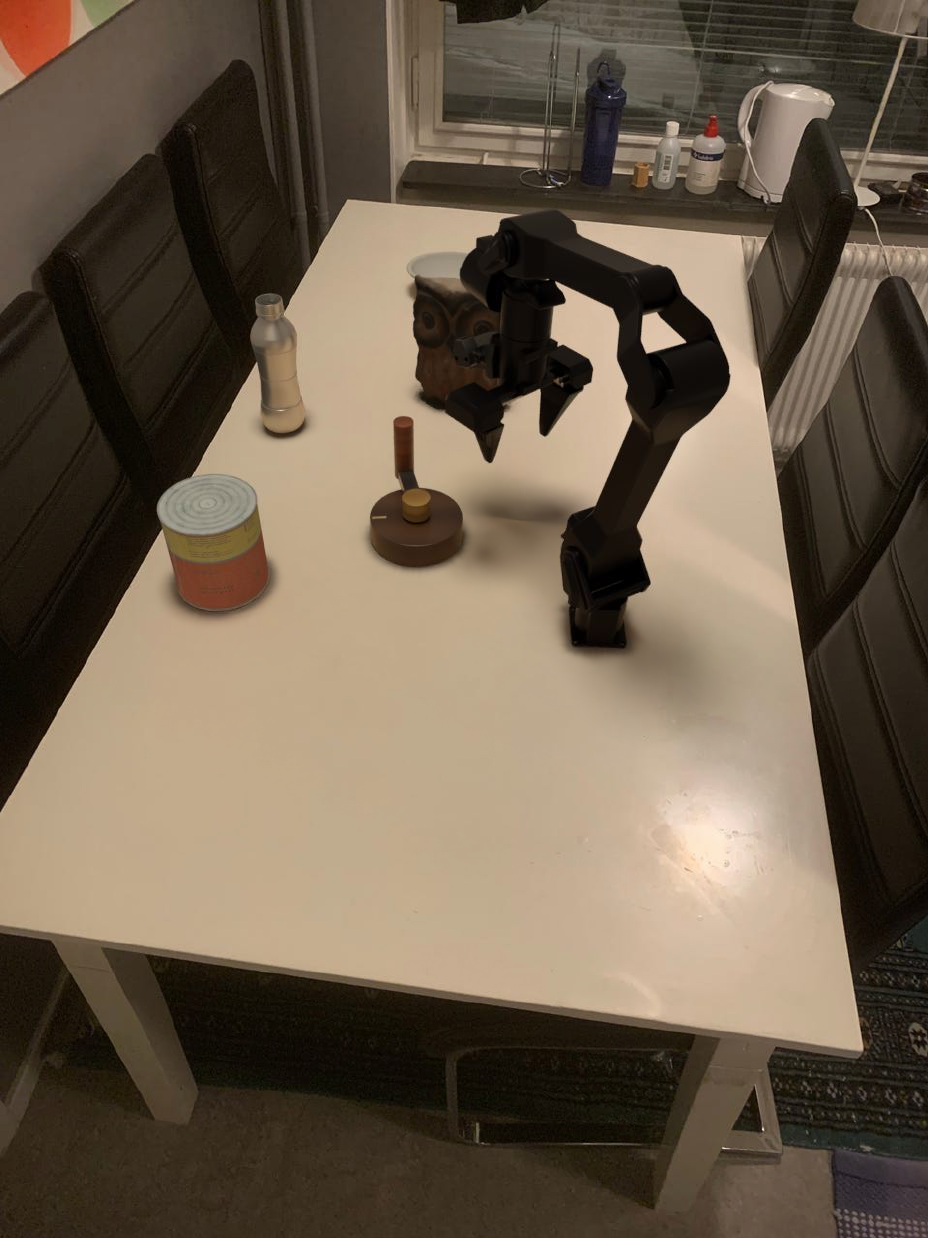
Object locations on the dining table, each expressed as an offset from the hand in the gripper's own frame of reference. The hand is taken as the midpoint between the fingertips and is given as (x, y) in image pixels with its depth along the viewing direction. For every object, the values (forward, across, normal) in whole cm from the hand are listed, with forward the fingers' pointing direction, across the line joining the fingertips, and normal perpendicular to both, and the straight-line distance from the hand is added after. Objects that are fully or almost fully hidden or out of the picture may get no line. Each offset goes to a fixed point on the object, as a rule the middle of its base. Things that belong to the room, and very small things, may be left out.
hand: (516, 447), depth 112 cm
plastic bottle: (+13, +10, -39) cm, 43 cm away
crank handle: (+9, +9, -10) cm, 16 cm away
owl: (+13, -17, -30) cm, 37 cm away
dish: (+13, -38, -57) cm, 69 cm away
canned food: (+13, +34, -15) cm, 40 cm away
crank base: (+13, +10, -7) cm, 18 cm away
